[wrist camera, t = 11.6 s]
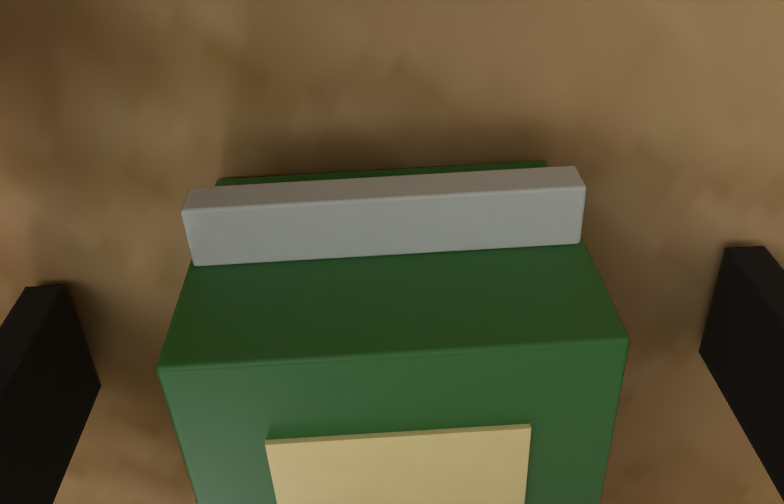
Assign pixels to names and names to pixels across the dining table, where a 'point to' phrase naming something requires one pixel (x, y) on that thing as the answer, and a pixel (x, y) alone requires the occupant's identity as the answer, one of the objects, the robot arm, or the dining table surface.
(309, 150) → the dining table surface
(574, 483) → the green carton
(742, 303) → the robot arm
